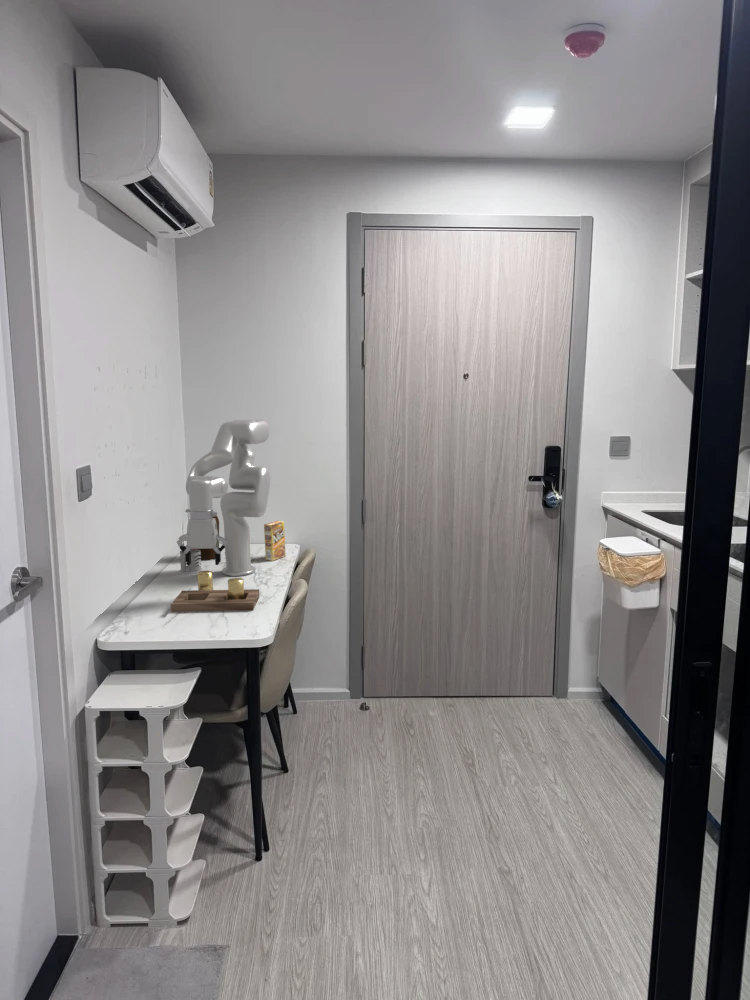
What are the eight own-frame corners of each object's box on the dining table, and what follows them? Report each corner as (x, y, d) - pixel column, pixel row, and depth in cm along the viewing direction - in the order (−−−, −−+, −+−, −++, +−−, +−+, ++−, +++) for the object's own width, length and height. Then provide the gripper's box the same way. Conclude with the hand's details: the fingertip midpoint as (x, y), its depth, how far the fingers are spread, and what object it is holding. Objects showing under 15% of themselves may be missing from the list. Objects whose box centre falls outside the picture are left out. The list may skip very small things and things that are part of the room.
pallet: (182, 600, 222) (182, 590, 222) (259, 599, 223) (259, 589, 223) (171, 614, 209) (170, 604, 208) (253, 613, 209) (253, 602, 209)
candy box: (273, 561, 271) (271, 525, 269) (264, 560, 274) (263, 524, 271) (286, 556, 279) (284, 521, 276) (278, 555, 281) (276, 520, 278)
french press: (207, 568, 262) (204, 506, 258) (197, 576, 251) (193, 512, 246) (184, 567, 263) (180, 506, 259) (172, 576, 252) (168, 512, 247)
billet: (200, 592, 231) (199, 570, 230) (214, 592, 231) (213, 570, 230) (197, 597, 226) (195, 574, 225) (211, 596, 226) (210, 574, 225)
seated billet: (230, 601, 218) (229, 577, 217) (245, 600, 218) (244, 577, 217) (227, 606, 213) (226, 582, 212) (243, 605, 214) (242, 582, 212)
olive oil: (225, 555, 282) (222, 498, 278) (212, 561, 272) (209, 502, 268) (203, 553, 285) (200, 497, 281) (190, 559, 275) (186, 501, 271)
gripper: (229, 513, 227) (230, 561, 230) (178, 513, 227) (180, 562, 229) (224, 517, 220) (226, 566, 222) (172, 517, 219) (175, 567, 222)
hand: (203, 564), depth 226 cm, fingers open, 9 cm apart
